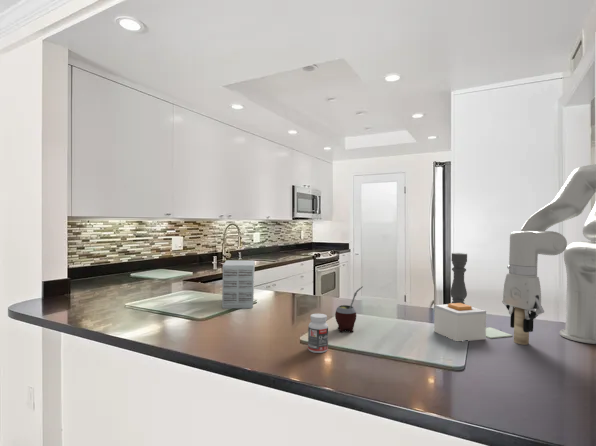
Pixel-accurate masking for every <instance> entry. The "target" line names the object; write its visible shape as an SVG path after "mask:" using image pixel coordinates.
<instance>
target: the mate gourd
mask: <svg viewBox="0 0 596 446" xmlns="http://www.w3.org/2000/svg"><path fill="white" fill-rule="evenodd" d="M363 287H364V286H361V287H359V288H358V289H357V290H356V291H355V292H354V294H353V297H352V300H351V303H350V305H345V304H343V305H338V307H336V309H335V314H334V315H335V320H336V321H335V322H336V324H337V325H338V326H337V329H338V330H339V333H341V334H342V333H345V332H349V333H351V334H353V333H354V332H355V331H354V327H355V323H356V320H357V311H356V309H355V308H354V306H353V305H354V301H355V299H356V296H357V294H358V292H359V291H360V290H361V289H362V288H363Z"/></svg>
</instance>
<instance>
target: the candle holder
mask: <svg viewBox="0 0 596 446" xmlns="http://www.w3.org/2000/svg"><path fill="white" fill-rule="evenodd" d="M450 261H451V263H452V266H453V267H451V271H452V272H453V280H452V283H451V286H450V287H451V288H450V292H449V293H450V297H451V298H452V301H451V303H463V304H466V302H465V299H466V298H467V296H468V292H467V287H466V282H465V274H466V273H465V272H466V271H467V268H466V265H467V263H468V253H465V252H451V260H450Z"/></svg>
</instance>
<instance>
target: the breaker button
mask: <svg viewBox="0 0 596 446" xmlns="http://www.w3.org/2000/svg"><path fill="white" fill-rule="evenodd" d="M447 304H448V307H449V308H452V309H455V310H458V311H462V310H472V307H473V306H472V305H468V304H466V303H465V304H463V303H452V302H450V303H447Z"/></svg>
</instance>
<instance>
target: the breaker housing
mask: <svg viewBox="0 0 596 446" xmlns="http://www.w3.org/2000/svg"><path fill="white" fill-rule="evenodd" d="M448 304H449V303H446V304H445V303H444V304H434V315H433V316H434V319H433V320H434V323H433V325H434V326H433V328H434V329H433V332H435V333H437V334H439V335H441V336H443V337H445V336H446V337H445V338H447V337H448V339H450V340H452V339H453V340H452V341H454V340H455V341H454V342H456V341H462V340H468V341H467V342H469V341H470V342H471V341H481V340H486V339H487V337H486V328H487V311H486V310H483V309H480V308H477V307H474V306H472V310H462V311H458V310H455V309H452V308H449V307H448ZM462 342H463V341H462Z"/></svg>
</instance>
